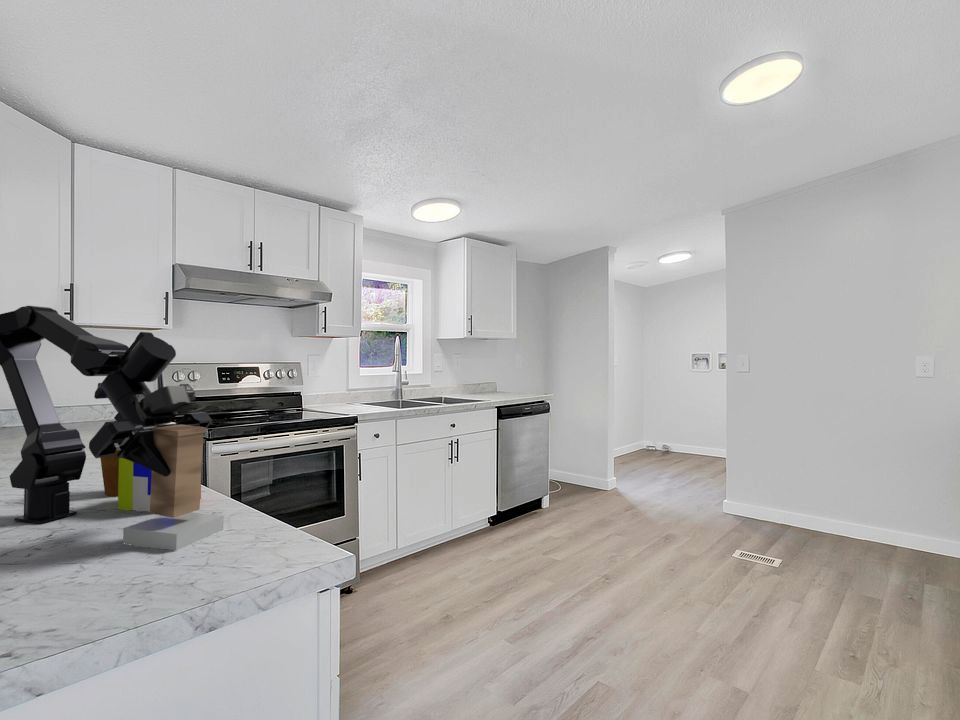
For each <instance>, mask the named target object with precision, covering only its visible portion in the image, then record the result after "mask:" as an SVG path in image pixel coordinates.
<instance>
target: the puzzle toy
mask: <svg viewBox="0 0 960 720" xmlns="http://www.w3.org/2000/svg"><path fill="white" fill-rule="evenodd" d="M151 478H152V470H150V469H148V468H146V467H144V466H142V465H139V464H137V463H134V462H132V461H129V460H127V459H124V458H119V479H118V496H117V497H118V498H117V510H119V509H125V510H124V511H130V510H136V511H135V512H142V511H148V512H147V513H150V496H151ZM200 499H201V500H202V490H201V491H200Z"/></svg>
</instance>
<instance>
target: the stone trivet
mask: <svg viewBox="0 0 960 720" xmlns="http://www.w3.org/2000/svg"><path fill="white" fill-rule="evenodd" d="M224 520H225V518H224V515H223V514H222V515H221V514H211V513H199V512H194V511H193V512H190V513H187V514H184V515H181V516H178V517H175V518H172V517H166V516H161V515H157V516H156V517H153V518H149V519H147V520H143V521H140V522H138V523H135V524H131V525H129V526H126V527H123V528H122V530H123V531H122V544H123V543H125V544H131V545H136V546H135V547H139V546H142V548H147V547H152V548H151V549H156V548H160V549H159V550H164V549H169V550H168V551H172V550H177V551H179V550H178V549H180V550H181V548H182V549H184V548H187V547H189V546H190V545H189V544H191V545H193V544H194V543H193V542H196V541H198V540H200V539H203V538H205V537H207V538H209V537H211V536H210V535H212V534H214V533H216V534H218V533H217V532H219V531H221V532H223V531H224V522H225V521H224ZM222 530H223V531H222ZM219 533H220V532H219ZM214 535H215V534H214ZM208 536H209V537H208ZM212 536H213V535H212ZM205 539H206V538H205ZM203 540H204V539H203ZM200 541H201V540H200ZM198 542H199V541H198ZM192 543H193V544H192ZM196 543H197V542H196ZM131 545H130V546H131ZM188 545H189V546H188ZM186 546H187V547H186ZM183 547H184V548H183Z"/></svg>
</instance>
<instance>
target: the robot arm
mask: <svg viewBox="0 0 960 720" xmlns="http://www.w3.org/2000/svg"><path fill="white" fill-rule="evenodd" d="M43 340H46V341H48V342H50V343H52V344H53V345H55V346H56V347H57V348H59V349H61V350H62V351H64V352H65V353H67V354H68V355H69V356H70V363H71V365H72V366H73V367H74V368H75V369H76V370H77V371H79V372H80V374H82V375H83V376H86V377H105V378H104V379H103V380H102V382H98V384H97V388H96V390H95V391H94V399H96V400H101V399H108V401H109V402H110V404H111V405H112V406H113V407H114V409H115V411H116V412H117V413H116V414H115V416H114V417H113V419H114V420H111V421H105V422H104V424H103V425H102V426H101V427H100V428H99V429H98V431H97V432H96V433H95V434H94V435H93V437H92V438H91V439H90V440H89V443H88V449H89V451H90V453H91V454H92V455H93V457H94V458H95V459H100V458H102V457H107V456H113V454H114V453H115V451H116V449H117V448H116V447H115V445H114V444H115V443H118V445H119V448H120V449H121V450H120V451H119V453H118V454H117V455H116V456H117V457H118V458H124V459H127V460H129V461H132V462H134V463H137V464H139V465H142V466H144V467H146V468H148V469H150V470H152V471H154V472H156V473H158V474H161V475H163V476H165V477H166V476H168V475H169V474H170V469H169V467H168V465H167V463H166V462H165V460H164V458H163V457H162V455H161V454H160V452H159V450H158V449H157V447H156V446H155V444H154V433H153V430H152V428H156V427H164V426H172V425H180V424H182V425H190V426H198V427H206V429H208V427H210V425H211V424H212V423H213V420H212V418H211V416H210V415H209V414H208V413H207V412H206V411H205V412H204V411H198V412H196V411H195V412H189V413H188V412H187V413H185V414H183V416H182V417H181V418H180V419H179V420H178V422H175V421H174V422H172V421H171V420H172V419H175V418H176V417H177V416H178V411H177V410H179V409H181V408H184V407H185V406H190V405H191V404H192V402H193V401H195V400H196V398H197V395H196V392H195V390H194V388H193V387H192V386H191V385H190V384H189V383H180V384H179V385H170V386H169V385H167V386H164V387H162V386H161V387H160V388H158V389H156V390H154V391H151V390H150V388H149V387H148V385H147V384H146V383H152V382H155V381H157V379H158V378H159V377H160V376H161V374H163V372H164V371H165V369H166V368H168V366H169V365H170V364H171V362H173V360H174V359H175V358H176V356H177V353H176V349H175V348H174V346H173V345H172V344H169V343H168V342H166V341H165V340H163V339H161V338H159V337H157V336H155V335H154V333H153V332H149V331H140V332H139V333H138V334H137V335H136V337H135V339H134V341H133V342H132V343H131V344H130V346H128V345H127V344H124V343H121V342H118V341H115V340H112V339H107V338H104V337H99V336H95V335H93V334H91V332H89V331H86V330H85V329H83V328H82V327H81V326H79V325H77V324H75V323H74V322H72V321H71V320H69V319H67V318H66V317H64V316H63V315H61V314H59V312H58V311H57V309H53V308H51V307H47V306H36V305H25V306H23V305H22V306H20V307H18V308H17V309H15V310H12V311H8V312H3V313H0V367H1V368H2V371H3V374H4V376H5V380H6V383H7V385H8V388H9V390H10V393H11V396H12V398H13V399H12V400H13V401H14V404H15V407H16V409H17V412H18V415H19V418H20V420H21V423H22V426H23V429H24V431H25V434H26V437H25V438H26V439H25V440H24V442H23V445H22V447H21V450H20V457H21V461H20V462H19V463H18V464H17V465H16V467H15V469H14V470H13V471H12V472H11V474H10V475H9V479H10V485H11V487H12V488H14V489H21V490H24V491H23V515H19V516H16V517H13V518H14V519H13V521H16V522H24V523H33V524H44V523H48V522H51V521H56V520H58V519H62V518H65V517H66V518H67V517H68V516H72V515H75V514H78V513H77V512H78V511H77V510H71V509H70V505H71V504H70V501H71V500H70V499H71V496H70V495H71V492H70V482H71V481H79V480H81V477H82V473H83V470H84V466H85V465H86V464H85V463H86V459H87V454H86V451H85V449H86V448H87V447H86V445H85V444H84V443H83V441H82V438H81V434H80V431H79V430H78V429H77V428H70V429H68V428H66V427H64V426H62V424H61V422H60V418H59V416H58V414H57V410H56V408H55V406H54V403H53V401H52V397H51V395H50V392H49V390H48V387H47V385H46V383H45V380H44V376H43V375H42V371H41V369H40V367H39V363H38V361H37V355H38V353H39V351H40V349H41V346H42V341H43ZM145 382H146V383H145Z"/></svg>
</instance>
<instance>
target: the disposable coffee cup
mask: <svg viewBox="0 0 960 720" xmlns="http://www.w3.org/2000/svg"><path fill="white" fill-rule="evenodd" d="M114 445H115V447H116V448H117V449H116V451H115V453H114V454H113V456H107V457H102V458H99V459H100V466H101V474H102V479H103V480H102V481H103V488H104V489H103V490H104V495H105V496H108V497H118V479H119V458H118V457H117V456H116V455H117V454H118V453H119V451H120V450H121V449H120V448H119V445H118V443H115V444H114Z"/></svg>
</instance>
